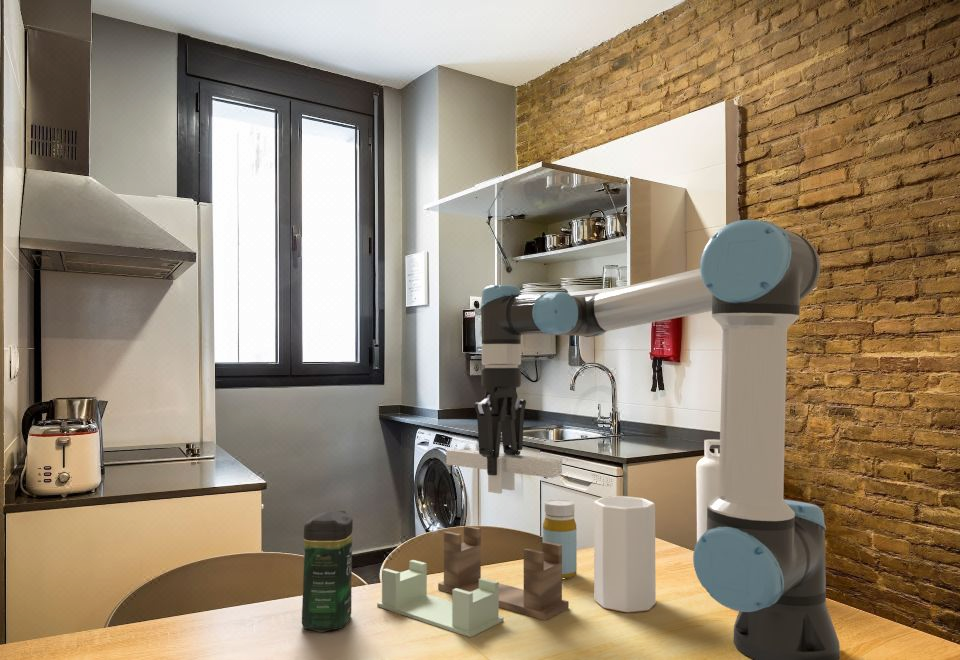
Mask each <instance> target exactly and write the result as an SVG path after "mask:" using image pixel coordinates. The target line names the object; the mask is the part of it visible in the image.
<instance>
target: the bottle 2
mask: <svg viewBox="0 0 960 660" xmlns="http://www.w3.org/2000/svg"><path fill="white" fill-rule="evenodd" d="M703 441H704V443H703V445H704V446H703V449H704V452H703V453H704V456H703V457H702V458H700V459H699V460H698V461H697V463H696V466H695V467H696V471H695V476H696V478H695V479H696V480H695V481H696V543H697V542H698V540H699V538H700V537H701V536H702V535H703V534H704V533H705V532H706V531H707V506H708V502H709V501H710V500H712V499H713V498H714V497H715V496H716V495H717V494H718V493H719V461H720V452H719V448H716V447H715V448H713V450H714V452H712V451H710V449H711V448H710V447H711V446H720V439H704V440H703Z"/></svg>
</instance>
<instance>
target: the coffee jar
mask: <svg viewBox="0 0 960 660" xmlns="http://www.w3.org/2000/svg"><path fill="white" fill-rule="evenodd" d="M353 521H354V520H353V517H352V516H351V515H350V514H349V513H347V511H345V510H329V509H327V510H322V512H320V513H317V514H316V515H313V516H312V517H310V519H308V520H307V521H306V522H305V523H304V526H303V576H302V577H303V578H302V579H303V581H302V606H301V607H302V608H301V625H302V627H303V629H307V630H311V631H314V632H322V633H323V632H328V631H331V630H337V629H338V630H339V629H342V628H344V626H345V625H346V624H347V623H348V622H349V620H350V618H351V616H352V575H353V573H352V571H353V570H352V569H353V563H352V562H353V533H354V532H353V530H354V528H353V525H354V523H353Z"/></svg>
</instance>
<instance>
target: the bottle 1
mask: <svg viewBox="0 0 960 660" xmlns="http://www.w3.org/2000/svg"><path fill="white" fill-rule="evenodd" d="M545 541H546V542H551V543H556V544H560V545H562V578H570V577H572V578H574V577H575V576H576V575H577V567H578V566H577V565H578V564H577V553H578V552H577V551H578V550H577V523H576V521H575V503H574V501H572V500H569V499H559V498H558V499H547V500H546V501H545V502H544V520H543V523H542V543H543V542H545ZM574 575H575V576H574ZM573 576H574V577H573ZM570 579H571V578H570Z"/></svg>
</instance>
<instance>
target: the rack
mask: <svg viewBox="0 0 960 660" xmlns="http://www.w3.org/2000/svg"><path fill="white" fill-rule="evenodd" d="M481 540H482V528H481V527H476V526H470V525H465V526H463V542H462V534H461V533H457V532H452V531H444V532H443V581H441V582H438V583H437V587H438V588H437V589H438V590H439V591H441V592H442V591H443V592H446V593H448V594H452V590H453V589H455V588H458V589H461V590H465V591H468V592H471V591H474V590H476V589H479V579H480V578H482V568H481V566H482V565H481V563H482V556H481V555H482V552H481V551H482V541H481ZM541 543H542V544H541V545H542V548H541V549H542V551H541V550H536V549H531V548H524V549H523V588H519V587H515V586H512V585H508V584H504V583H500V582H499V608H501V609H505V610H508V611H511V612H515V613H518V614H522V615H525V616H529V617H531V618H535V619H538V620H543V621H547V620H549V619H551V618H553V617H554V616H556V615H559V614H560V613H562V612H564V611H566V610H568V609H569V608H570V607H569V605H570V604H569V600H565V599H563V579H562V545H560V544H556V543H551V542H546V541H545V542H543V541H542V542H541Z"/></svg>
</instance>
